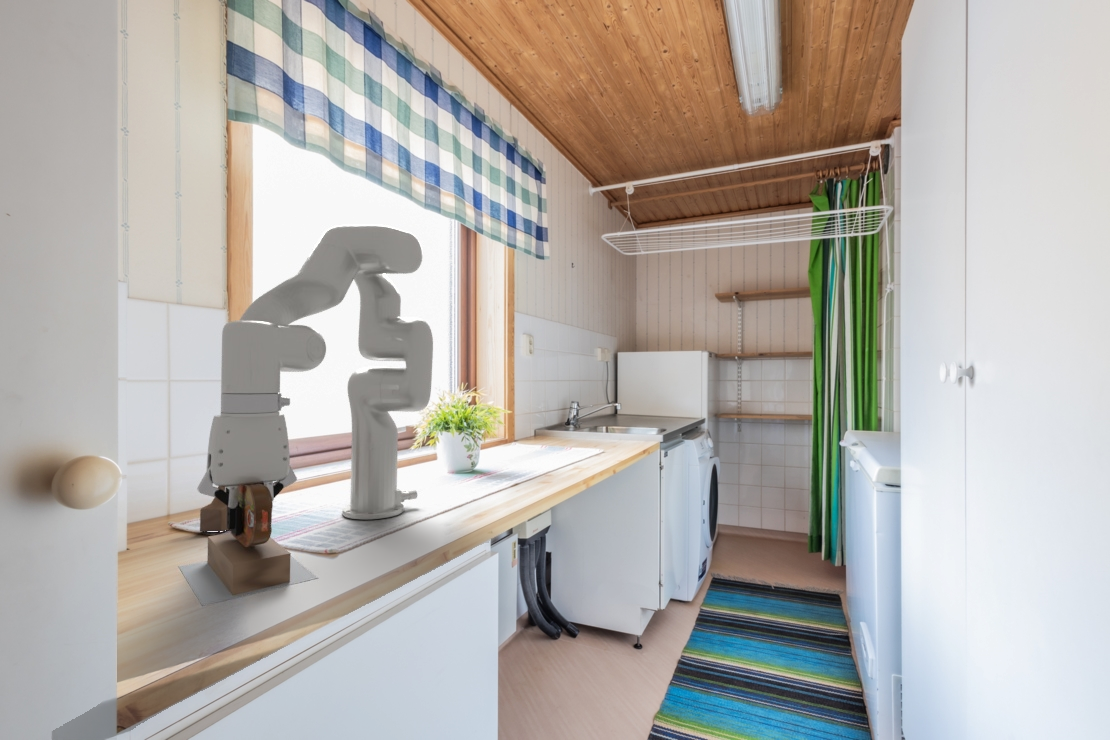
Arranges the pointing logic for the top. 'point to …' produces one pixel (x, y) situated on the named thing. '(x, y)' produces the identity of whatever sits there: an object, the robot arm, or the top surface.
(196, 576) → the plate
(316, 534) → the top surface
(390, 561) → the top surface
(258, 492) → the tin
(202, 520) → the wooden block
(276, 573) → the base block
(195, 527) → the top surface
